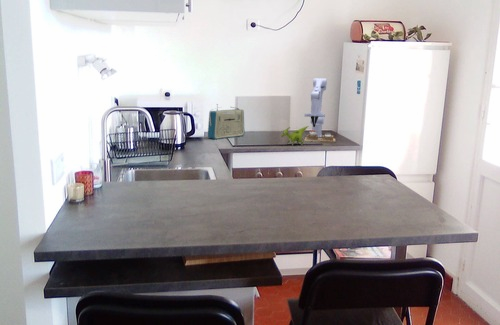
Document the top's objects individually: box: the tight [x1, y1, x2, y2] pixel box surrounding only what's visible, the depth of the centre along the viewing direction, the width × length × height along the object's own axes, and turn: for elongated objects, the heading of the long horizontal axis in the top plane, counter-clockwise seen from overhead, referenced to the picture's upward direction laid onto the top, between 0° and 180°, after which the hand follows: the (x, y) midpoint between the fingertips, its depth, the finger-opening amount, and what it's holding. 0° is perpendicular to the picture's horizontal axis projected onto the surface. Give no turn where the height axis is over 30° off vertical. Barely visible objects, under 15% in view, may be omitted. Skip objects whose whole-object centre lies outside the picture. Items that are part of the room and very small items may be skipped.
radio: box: [207, 103, 246, 140], centre depth 354 cm, size 30×8×25 cm, turn 131°
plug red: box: [309, 129, 316, 136], centre depth 351 cm, size 4×4×4 cm
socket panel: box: [303, 133, 336, 144], centre depth 351 cm, size 12×22×4 cm, turn 81°
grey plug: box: [324, 132, 332, 137], centre depth 350 cm, size 4×4×4 cm
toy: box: [280, 125, 309, 146], centre depth 333 cm, size 8×21×15 cm, turn 115°
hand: (314, 126), depth 350 cm, fingers closed
